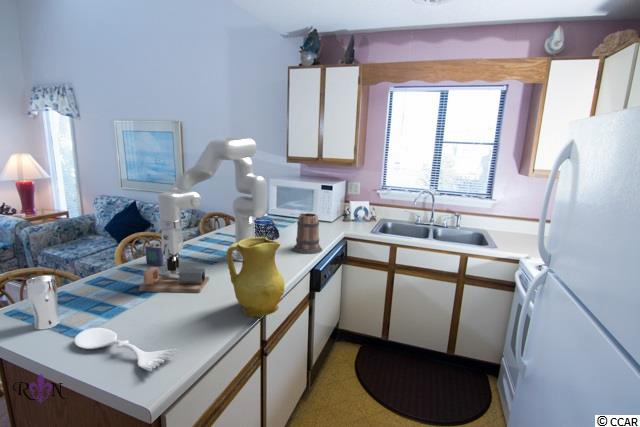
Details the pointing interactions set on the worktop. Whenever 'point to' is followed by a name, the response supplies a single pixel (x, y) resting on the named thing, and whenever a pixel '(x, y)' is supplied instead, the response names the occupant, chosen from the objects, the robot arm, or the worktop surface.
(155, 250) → the flask
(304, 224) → the tankard
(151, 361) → the spoon
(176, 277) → the brushed metal peg
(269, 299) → the pitcher
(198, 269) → the outer sleeve
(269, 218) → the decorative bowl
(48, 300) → the beer glass
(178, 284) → the base board
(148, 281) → the socket block
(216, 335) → the worktop surface
